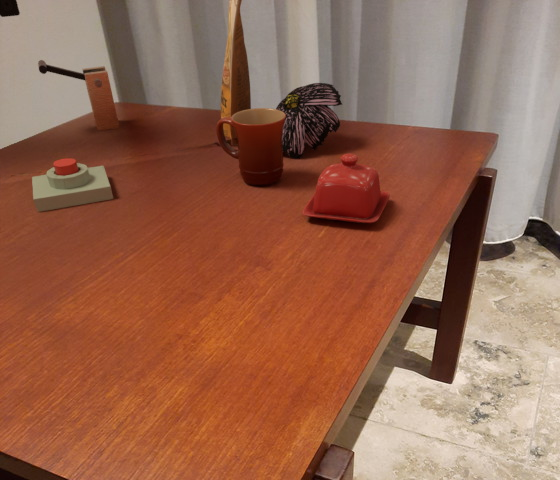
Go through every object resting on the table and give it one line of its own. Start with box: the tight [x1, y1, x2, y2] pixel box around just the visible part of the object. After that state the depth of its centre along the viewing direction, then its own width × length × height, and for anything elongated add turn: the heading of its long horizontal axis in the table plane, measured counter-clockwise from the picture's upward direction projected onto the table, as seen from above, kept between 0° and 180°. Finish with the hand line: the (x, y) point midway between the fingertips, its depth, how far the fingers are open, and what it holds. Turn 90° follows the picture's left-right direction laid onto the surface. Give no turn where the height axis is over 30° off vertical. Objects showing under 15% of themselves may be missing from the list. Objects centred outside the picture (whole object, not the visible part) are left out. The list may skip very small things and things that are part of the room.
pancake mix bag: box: [220, 0, 252, 147], centre depth 104 cm, size 7×19×28 cm, turn 179°
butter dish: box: [302, 153, 391, 224], centre depth 81 cm, size 12×12×8 cm
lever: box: [37, 59, 93, 82], centre depth 108 cm, size 12×5×2 cm, turn 110°
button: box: [53, 157, 79, 176], centre depth 90 cm, size 4×4×2 cm
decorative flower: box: [275, 82, 343, 160], centre depth 103 cm, size 15×12×15 cm
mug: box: [215, 107, 286, 187], centre depth 92 cm, size 12×9×10 cm
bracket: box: [81, 65, 120, 132], centre depth 113 cm, size 12×10×12 cm
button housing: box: [31, 162, 114, 213], centre depth 92 cm, size 12×10×4 cm
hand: (9, 11), depth 97 cm, fingers open, 9 cm apart
